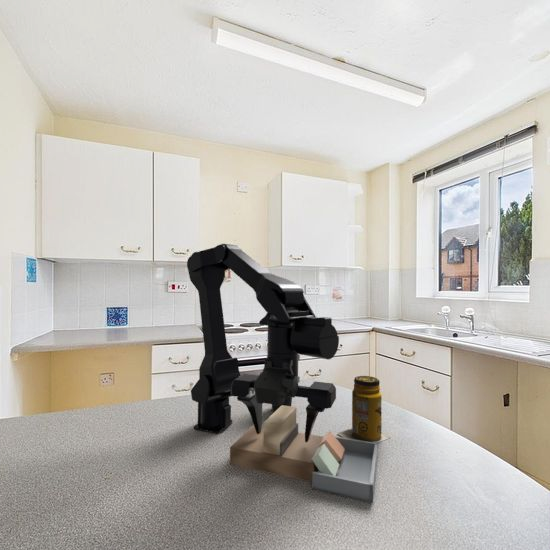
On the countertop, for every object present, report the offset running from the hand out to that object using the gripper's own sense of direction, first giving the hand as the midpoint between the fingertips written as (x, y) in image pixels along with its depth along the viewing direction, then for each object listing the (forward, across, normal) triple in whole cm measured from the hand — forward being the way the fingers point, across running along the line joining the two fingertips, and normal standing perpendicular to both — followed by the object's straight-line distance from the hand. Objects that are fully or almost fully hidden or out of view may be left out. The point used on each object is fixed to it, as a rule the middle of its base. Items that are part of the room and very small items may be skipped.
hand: (282, 437), depth 61 cm
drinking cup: (+4, -8, +23) cm, 25 cm away
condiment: (+4, +13, +15) cm, 20 cm away
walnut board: (+4, 0, 0) cm, 4 cm away
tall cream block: (+1, 0, 0) cm, 1 cm away
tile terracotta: (+2, +8, +3) cm, 9 cm away
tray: (+4, +12, 0) cm, 12 cm away
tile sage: (+2, +8, -3) cm, 9 cm away
